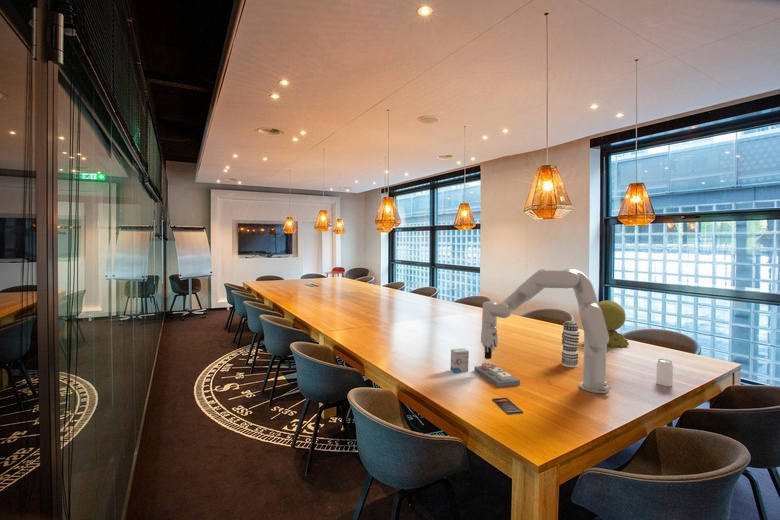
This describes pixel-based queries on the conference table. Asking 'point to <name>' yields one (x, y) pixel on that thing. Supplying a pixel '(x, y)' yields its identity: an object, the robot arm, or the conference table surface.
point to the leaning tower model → (570, 344)
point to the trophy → (613, 322)
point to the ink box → (459, 360)
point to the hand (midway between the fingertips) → (487, 358)
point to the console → (496, 380)
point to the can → (664, 373)
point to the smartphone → (507, 406)
